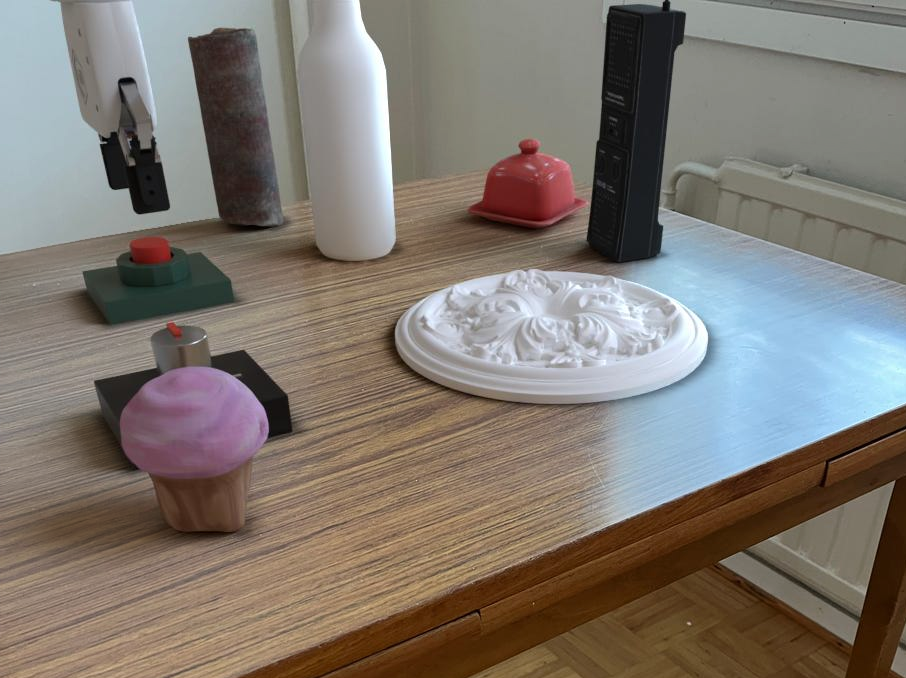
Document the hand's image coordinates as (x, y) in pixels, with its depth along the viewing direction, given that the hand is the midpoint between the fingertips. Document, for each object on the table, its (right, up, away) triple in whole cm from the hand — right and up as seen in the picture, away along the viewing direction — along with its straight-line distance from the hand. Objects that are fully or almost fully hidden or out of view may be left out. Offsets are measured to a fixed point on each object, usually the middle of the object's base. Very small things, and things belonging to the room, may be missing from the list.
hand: (139, 199), depth 91 cm
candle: (+5, +8, +25) cm, 27 cm away
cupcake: (+14, -33, -26) cm, 45 cm away
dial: (+10, -22, -18) cm, 30 cm away
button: (0, -4, +4) cm, 6 cm away
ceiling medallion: (+38, -14, -2) cm, 41 cm away
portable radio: (+47, +2, +17) cm, 50 cm away
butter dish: (+38, +10, +27) cm, 47 cm away
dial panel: (+10, -24, -16) cm, 31 cm away
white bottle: (+18, +2, +17) cm, 25 cm away
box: (0, -7, +6) cm, 9 cm away
